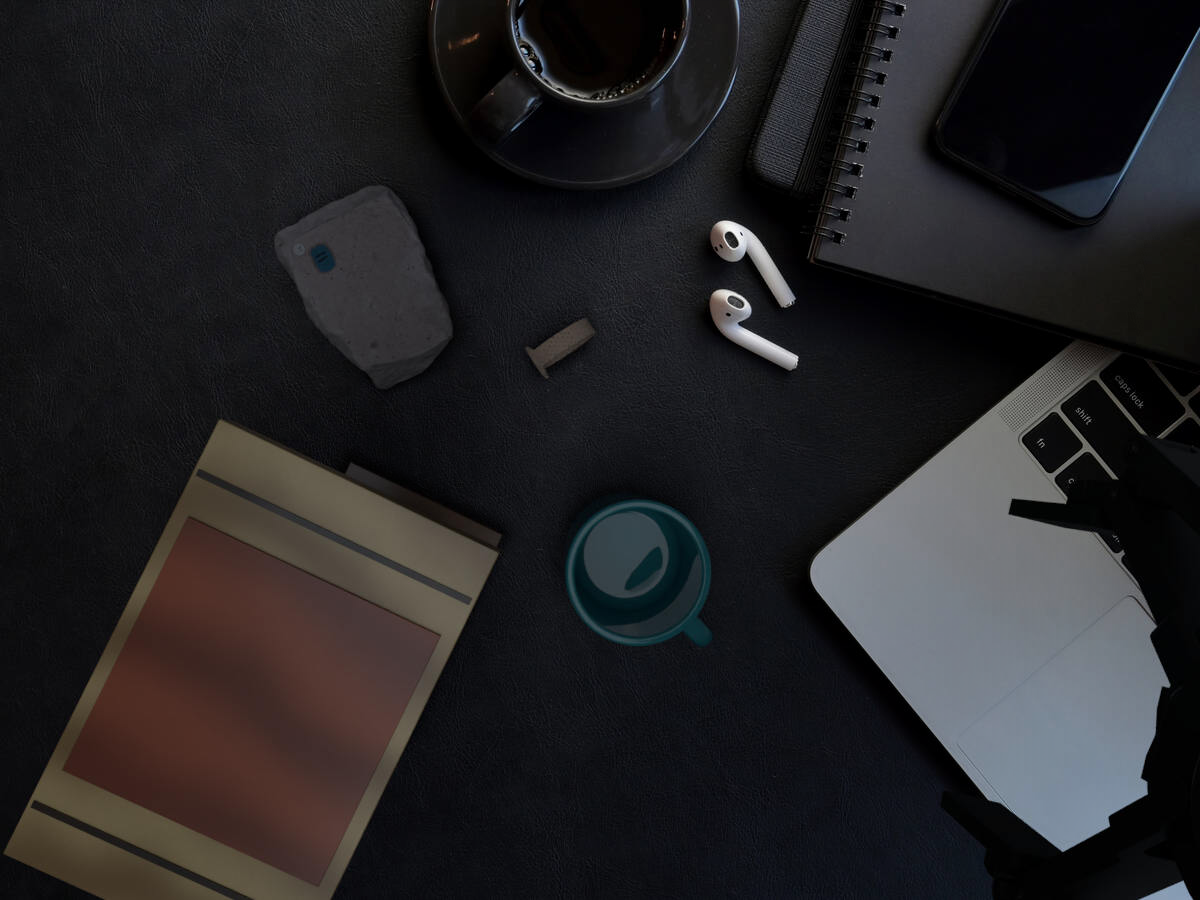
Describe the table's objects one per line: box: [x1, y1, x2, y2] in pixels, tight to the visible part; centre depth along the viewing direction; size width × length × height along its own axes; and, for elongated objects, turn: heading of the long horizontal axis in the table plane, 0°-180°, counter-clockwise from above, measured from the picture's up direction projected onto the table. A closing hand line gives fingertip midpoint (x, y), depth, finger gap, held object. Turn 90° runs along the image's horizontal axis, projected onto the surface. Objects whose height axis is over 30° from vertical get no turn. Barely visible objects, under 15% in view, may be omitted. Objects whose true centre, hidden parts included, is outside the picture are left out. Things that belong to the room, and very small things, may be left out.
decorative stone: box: [274, 184, 454, 390], centre depth 65 cm, size 13×10×6 cm
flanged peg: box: [524, 317, 596, 379], centre depth 66 cm, size 3×5×5 cm, turn 123°
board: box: [3, 418, 502, 900], centre depth 40 cm, size 20×13×2 cm, turn 154°
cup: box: [562, 492, 715, 648], centre depth 63 cm, size 9×12×11 cm
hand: (1003, 658), depth 43 cm, fingers open, 13 cm apart
